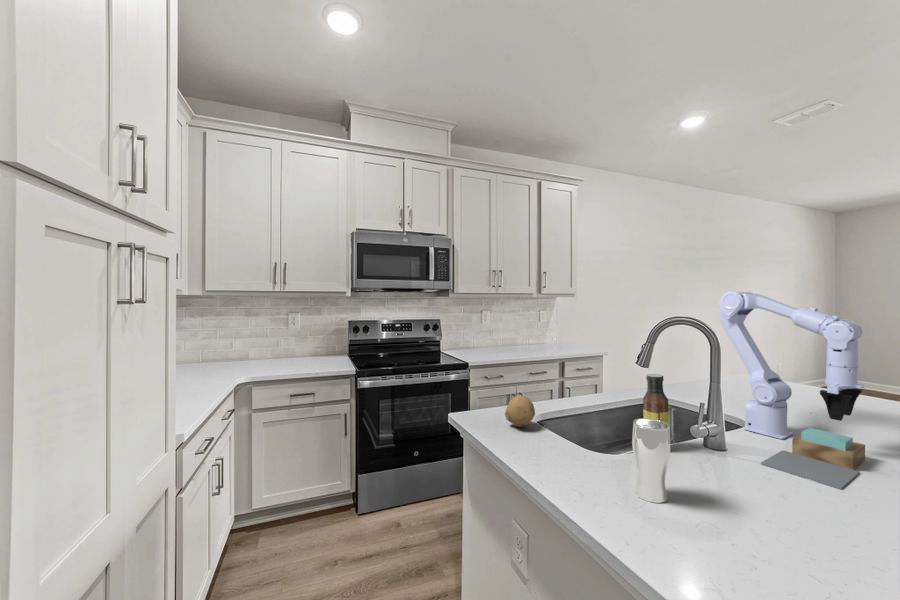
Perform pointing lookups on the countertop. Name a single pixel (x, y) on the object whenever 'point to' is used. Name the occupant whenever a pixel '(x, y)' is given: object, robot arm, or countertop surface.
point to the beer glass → (651, 458)
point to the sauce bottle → (655, 400)
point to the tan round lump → (520, 411)
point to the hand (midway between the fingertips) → (840, 417)
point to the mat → (811, 469)
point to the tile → (827, 439)
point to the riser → (830, 453)
